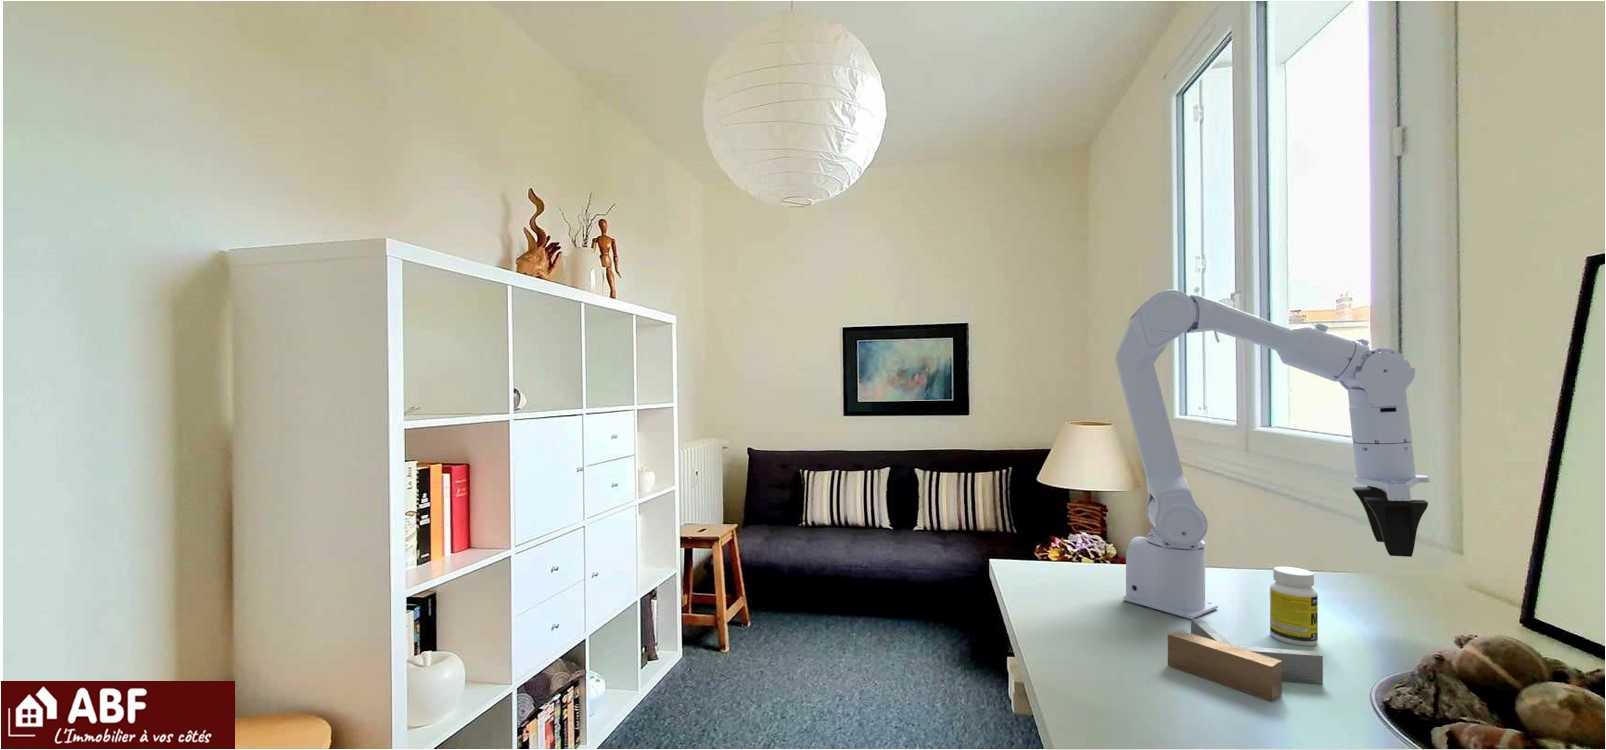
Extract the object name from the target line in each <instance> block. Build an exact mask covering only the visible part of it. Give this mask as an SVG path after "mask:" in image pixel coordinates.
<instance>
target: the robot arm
mask: <svg viewBox="0 0 1606 750" xmlns="http://www.w3.org/2000/svg"><path fill="white" fill-rule="evenodd" d="M1127 323H1128V324H1127V326H1126V329H1125V331H1124V333H1123V336H1122V338H1121V341H1120V343H1119V346H1118V347H1117V351H1116V352H1115V356H1114V358H1115V359H1114V361H1115V366H1116V368H1117V373H1118V377H1119V380H1120V384H1121V388H1122V392H1123V396H1124V399H1125V404H1126V407H1127V411H1128V413H1129V418H1130V422H1131V426H1132V430H1133V433H1134V437H1135V440H1136V444H1137V447H1138V451H1139V455H1140V456H1139V457H1140V460H1141V464H1142V467H1143V471H1144V475H1145V484H1146V490H1147V494H1148V499H1147V503H1146V506H1145V507H1146V508H1145V514H1146V517H1147V520H1148V521H1149V523H1150V524H1151V525H1152V526H1153V528H1151V529H1150V531H1149V532H1148V533H1147V534H1146V535H1145V536H1146V537H1145V536H1135V537H1133V538H1132V539H1131V540H1130V542H1129V543H1128V547H1127V550H1126V552H1125V553H1126V555H1125V595H1124V596H1122V598H1123V600H1124V601H1127V602H1129V603H1133V604H1136V605H1141V606H1145V607H1147V608H1150V609H1154V610H1158V611H1161V612H1165V613H1168V614H1172V615H1176V616H1179V617H1183V618H1186V619H1189V620H1191V619H1197V618H1198V617H1200V616H1202V615H1205V614H1208V613H1209V612H1212V611H1213V610H1217V609H1218V608H1219V605H1218V604H1217V603H1214V602H1211V601H1210V602H1209V601H1206V542H1205V540H1203V539H1204V538H1205V537H1206V534H1207V532H1208V528H1209V525H1208V523H1209V522H1208V518H1207V516H1206V514H1205V512H1204V511H1203V510H1202V509H1201V508H1200V507H1199V505H1197V503H1196V502H1195V501H1194V500H1195V499H1194V497H1193V494H1192V491H1191V488H1190V486H1189V484H1188V481H1187V479H1186V476H1185V474H1184V471H1183V467H1182V464H1181V460H1180V456H1179V453H1178V448H1177V444H1176V442H1175V438H1174V433H1173V431H1172V427H1171V424H1170V419H1169V416H1168V412H1167V408H1166V405H1165V404H1166V403H1165V400H1164V397H1163V393H1162V389H1161V386H1160V382H1159V379H1158V375H1157V374H1158V373H1157V371H1156V367H1155V363H1156V361H1157V360H1158V359H1159V357H1160V356H1161V354H1162V353H1164V351H1165V350H1166V348H1167V346H1168V345H1169V344H1170V343H1171V342H1172V341H1174V340H1175V339H1177V338H1178V337H1180V336H1181V335H1182V334H1184V333H1186V334H1193V333H1203V332H1216V333H1220V334H1224V335H1227V336H1230V337H1232V338H1236V339H1238V340H1239V339H1240V340H1242V341H1245V342H1248V343H1251V344H1254V345H1258V346H1261V347H1263V348H1266V349H1270V350H1273V351H1276V353H1277V355H1278V356H1279V358H1280V361H1281V362H1282V363H1283V364H1284V365H1287V366H1290V367H1292V368H1295V369H1298V370H1301V371H1304V372H1306V373H1309V374H1312V375H1316V376H1317V377H1321V378H1324V379H1326V380H1330V381H1332V382H1334V383H1335V382H1338V383H1339V384H1340V385H1341V386H1342V387H1343V389H1345V390H1346V391H1347V396H1348V404H1349V405H1348V406H1349V407H1348V410H1349V419H1350V428H1351V439H1352V448H1353V457H1354V458H1353V459H1354V466H1355V467H1354V468H1355V475H1354V482H1355V483H1357V484H1359V485H1360V484H1361V485H1365V486H1357V487H1352V491H1353V492H1354V493H1355V495H1356V497H1357V498H1358V499H1359V501H1360V503H1361V505H1362V507H1363V509H1364V512H1365V513H1366V516H1367V519H1368V522H1369V525H1370V528H1371V531H1372V535H1373V537H1374V539H1375V541H1376V542H1377V543H1383V544H1384V546H1385V550H1386V551H1387V554H1388V555H1389V556H1391V557H1403V558H1405V557H1406V558H1408V557H1409V558H1412V557H1413V553H1414V550H1415V545H1416V538H1417V532H1418V531H1417V530H1418V527H1419V524H1420V522H1421V519H1422V516H1423V515H1424V514H1425V512H1426V510H1427V508H1428V506H1429V502H1428V501H1427V500H1424V499H1412V498H1411V497H1412V496H1411V488H1412V487H1415V486H1416V485H1418V484H1420V483H1423V484H1425V483H1430V477H1429V476H1427V475H1425V474H1424V475H1423V474H1422V475H1421V474H1416V469H1415V468H1416V466H1415V458H1414V450H1413V448H1414V447H1413V442H1412V441H1413V438H1412V431H1411V430H1412V429H1411V422H1410V412H1409V406H1408V399H1407V389H1408V387H1409V386H1410V385H1411V384H1412V382H1413V381H1414V379H1415V375H1416V368H1415V367H1412V366H1411V364H1410V362H1409V360H1408V359H1407V358H1405V357H1404V355H1403V354H1402V353H1400V352H1399V351H1396V350H1394V349H1391V348H1390V349H1389V348H1382V347H1381V348H1371V349H1370V347H1369V343H1370V341H1368V340H1366V339H1364V338H1357V339H1356V340H1355V339H1351V338H1350V337H1349V338H1348V337H1345V336H1342V335H1340V334H1336V333H1334V332H1330V331H1327V330H1328V329H1329V326H1327V325H1325V324H1322V323H1320V322H1319V323H1314V324H1313V325H1309V324H1301V325H1297V326H1295V327H1292V328H1288V327H1286V326H1282V325H1281V324H1277V323H1274V322H1271V321H1269V320H1268V319H1264V318H1262V317H1260V316H1256V315H1253V314H1251V313H1248V312H1245V311H1242V310H1240V309H1239V308H1238V309H1237V308H1235V307H1232V306H1229V305H1227V304H1225V303H1222V302H1219V301H1216V300H1213V299H1211V298H1207V297H1205V296H1202V295H1201V296H1200V295H1196V294H1190V295H1188V294H1187V293H1185V292H1183V291H1181V290H1177V289H1166V290H1165V289H1164V290H1160V291H1159V292H1156V293H1155V294H1153V295H1152V296H1151V297H1150V298H1149V299H1148V300H1147V301H1145V302H1143V303H1142V304H1141V305H1140V307H1138V309H1137V310H1136V311H1135V312H1134V313H1133V314H1132V316H1131V317H1130V318H1129V320H1128V322H1127Z"/></svg>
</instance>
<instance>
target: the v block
mask: <svg viewBox="0 0 1606 750" xmlns="http://www.w3.org/2000/svg"><path fill="white" fill-rule="evenodd" d="M1323 658H1324V656H1323V655H1322V654H1320V653H1319V652H1318V651H1315V650H1302V649H1285V648H1274V647H1272V648H1271V647H1258V646H1256V647H1255V646H1244V645H1233V644H1232V643H1231V642H1229V640H1227V639H1226V638H1225V637H1223V636H1222V635H1221V634H1220V633H1219V632H1217V630H1215V629H1214V628H1213V627H1211V626H1210V625H1209V624H1208V623H1207V622H1206V621H1205V620H1204V619H1202V618H1193V619H1190V632H1188V631H1184V630H1181V629H1177V630H1174V631H1172V632H1169V633H1167V667H1170V668H1174V669H1176V670H1178V671H1182V672H1185V673H1187V674H1190V675H1193V676H1196V677H1198V678H1202V679H1205V680H1207V681H1211V682H1214V683H1216V684H1218V685H1222V686H1224V687H1228V688H1231V689H1232V690H1233V689H1234V690H1236V691H1239V692H1242V693H1243V694H1247V695H1251V696H1254V697H1256V698H1259V699H1262V700H1264V701H1267V702H1270V703H1273V702H1274V701H1276V700H1278V699H1279V698H1281V697H1282V696H1283V683H1295V684H1305V685H1306V684H1308V685H1321V686H1322V685H1323V684H1324V669H1323V668H1324V667H1323V666H1324V665H1323V664H1324V662H1323V660H1324V659H1323Z"/></svg>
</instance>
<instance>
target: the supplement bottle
mask: <svg viewBox="0 0 1606 750" xmlns="http://www.w3.org/2000/svg"><path fill="white" fill-rule="evenodd" d="M1272 572H1273V573H1272V575H1273V580H1274V581H1273V582H1272V583H1271V584H1270V585H1269V633H1270V635H1271V636H1272V638H1274V639H1275V640H1277V641H1279V642H1283V643H1287V644H1291V645H1296V646H1306V647H1310V646H1311V647H1312V646H1315V645H1317V643H1318V640H1319V639H1318V635H1319V633H1318V629H1319V627H1318V625H1319V623H1318V617H1319V615H1318V613H1319V612H1318V611H1319V610H1318V609H1319V608H1318V601H1319V600H1318V599H1319V598H1318V597H1319V596H1318V595H1319V594H1318V591H1317V590H1316V589H1315V588H1314V585H1315V575H1314V572H1312V571H1310V570H1307V569H1304V568H1299V567H1292V566H1275V567H1274V568H1273V571H1272Z"/></svg>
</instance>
